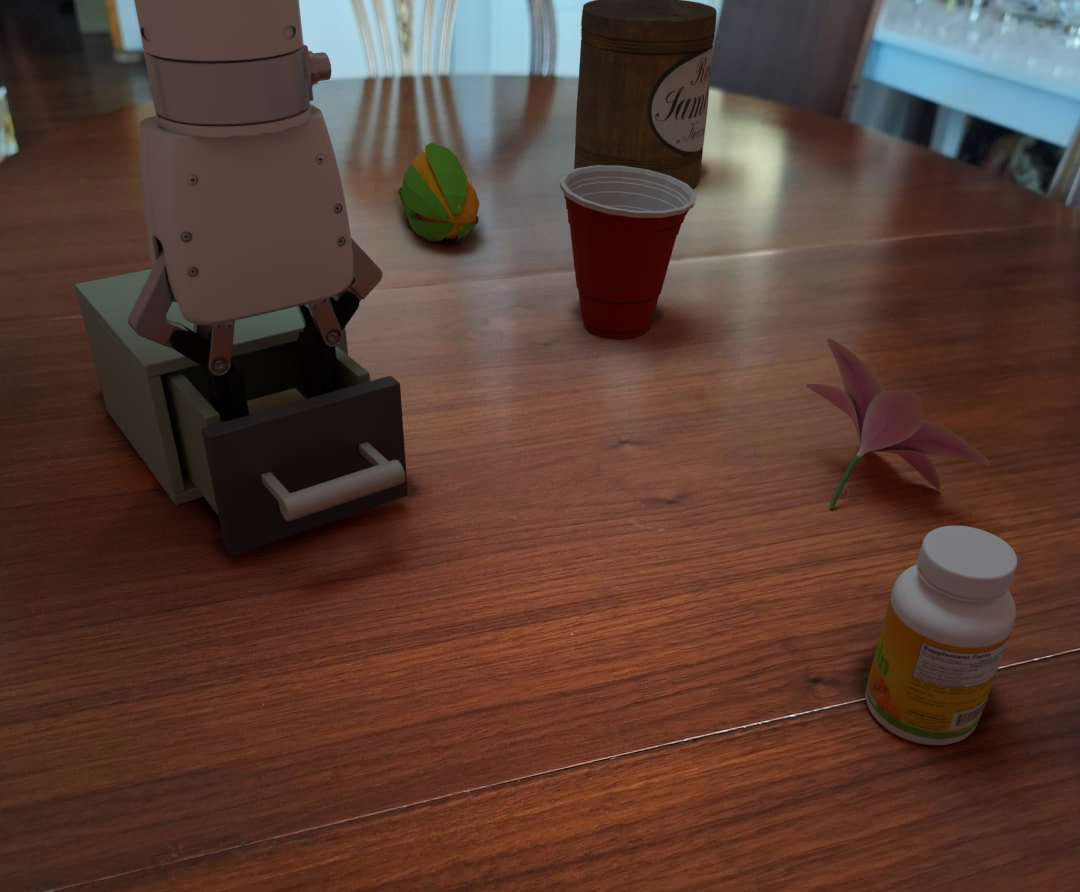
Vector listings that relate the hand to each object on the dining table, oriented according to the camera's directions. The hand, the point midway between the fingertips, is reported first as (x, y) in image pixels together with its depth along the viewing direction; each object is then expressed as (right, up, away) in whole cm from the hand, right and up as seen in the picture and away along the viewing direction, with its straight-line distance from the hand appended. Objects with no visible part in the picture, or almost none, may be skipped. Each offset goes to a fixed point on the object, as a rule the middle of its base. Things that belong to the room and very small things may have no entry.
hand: (278, 410), depth 62 cm
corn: (+5, +25, +47) cm, 53 cm away
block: (0, -3, +2) cm, 4 cm away
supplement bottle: (+34, -16, -11) cm, 39 cm away
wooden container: (+27, +35, +61) cm, 75 cm away
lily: (+37, -4, +6) cm, 38 cm away
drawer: (0, -5, +3) cm, 5 cm away
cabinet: (-6, 0, +11) cm, 12 cm away
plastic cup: (+22, +10, +26) cm, 36 cm away
